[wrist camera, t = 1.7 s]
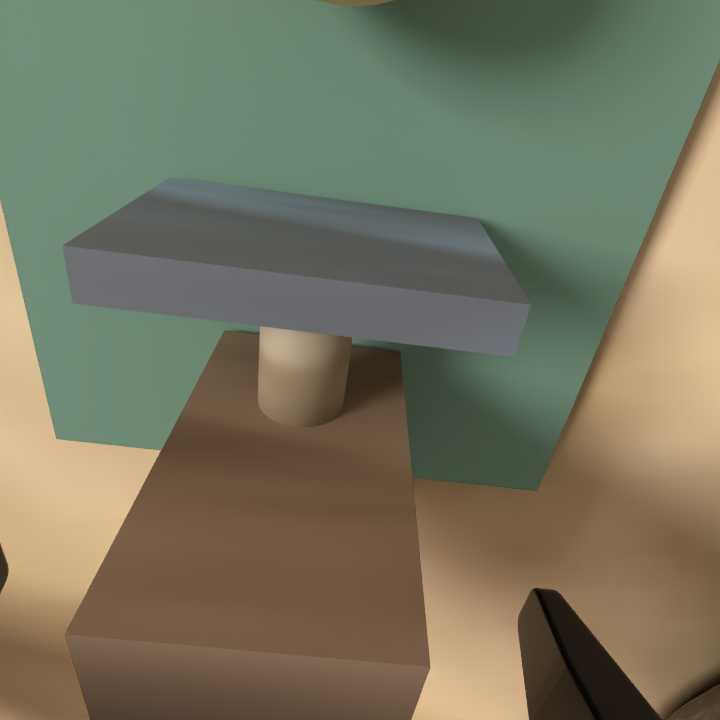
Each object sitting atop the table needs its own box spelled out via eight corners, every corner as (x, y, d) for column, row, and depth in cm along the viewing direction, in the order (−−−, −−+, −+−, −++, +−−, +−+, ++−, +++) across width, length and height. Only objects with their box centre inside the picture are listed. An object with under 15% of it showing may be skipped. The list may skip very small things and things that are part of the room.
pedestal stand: (411, 482, 14) (443, 813, 8) (187, 458, 14) (42, 783, 8) (477, 217, 10) (631, 464, 4) (169, 177, 10) (-146, 377, 4)
